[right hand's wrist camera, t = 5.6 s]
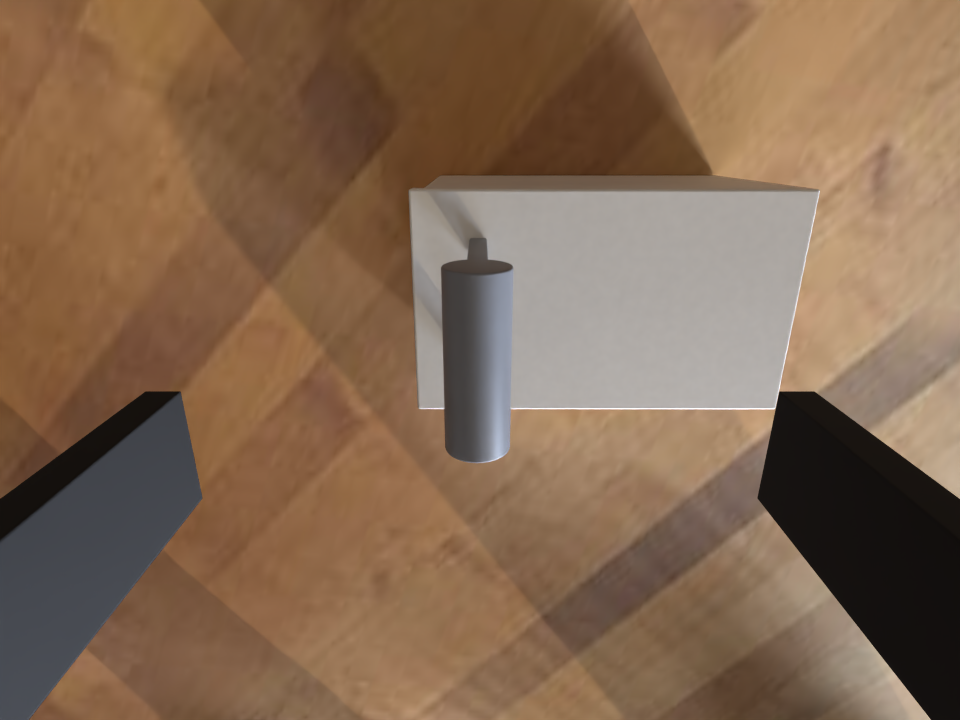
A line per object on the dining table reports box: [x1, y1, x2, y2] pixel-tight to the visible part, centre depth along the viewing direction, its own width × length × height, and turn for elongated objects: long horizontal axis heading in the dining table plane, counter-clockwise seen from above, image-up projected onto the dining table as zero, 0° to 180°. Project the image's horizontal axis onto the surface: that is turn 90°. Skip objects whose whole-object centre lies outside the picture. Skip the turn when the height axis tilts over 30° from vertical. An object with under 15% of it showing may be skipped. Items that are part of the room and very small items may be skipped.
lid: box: [409, 188, 820, 463], centre depth 20 cm, size 16×9×8 cm, turn 90°
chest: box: [425, 175, 805, 188], centre depth 29 cm, size 15×9×10 cm, turn 90°
